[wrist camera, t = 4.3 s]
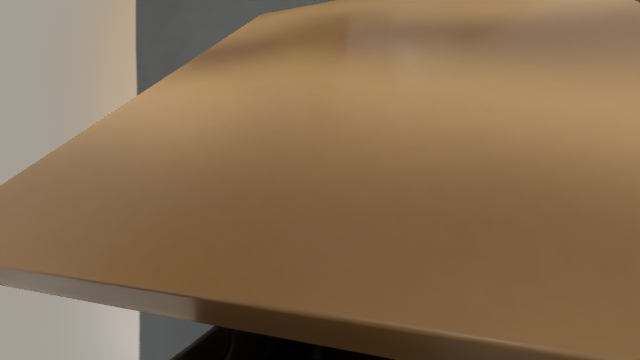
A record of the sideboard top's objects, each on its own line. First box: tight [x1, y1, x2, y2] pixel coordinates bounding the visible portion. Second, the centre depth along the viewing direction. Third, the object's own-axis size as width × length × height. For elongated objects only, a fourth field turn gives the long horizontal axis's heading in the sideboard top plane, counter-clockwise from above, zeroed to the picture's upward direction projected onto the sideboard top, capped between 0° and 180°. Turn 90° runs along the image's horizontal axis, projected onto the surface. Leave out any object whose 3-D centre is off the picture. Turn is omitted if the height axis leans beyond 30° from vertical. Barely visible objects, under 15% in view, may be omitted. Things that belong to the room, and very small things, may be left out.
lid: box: [0, 0, 640, 360], centre depth 9 cm, size 16×14×1 cm
